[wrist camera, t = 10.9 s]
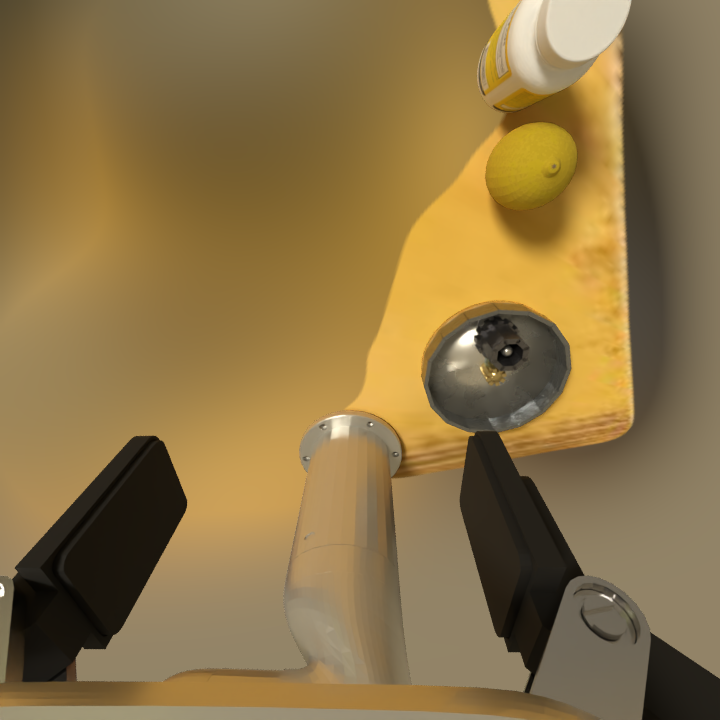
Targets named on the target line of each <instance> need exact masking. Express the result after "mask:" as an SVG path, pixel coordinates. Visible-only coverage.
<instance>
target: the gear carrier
mask: <svg viewBox="0 0 720 720" xmlns="http://www.w3.org/2000/svg"><path fill="white" fill-rule="evenodd" d="M494 317H500V318H501V319H502V320H504V318H507V319H509V320H510V321H511V322H512V323H513V324H514V325H515V326H516V327H517V328H518V329H519V331H520V332H519V333H518V335H519V336H520V337H521V339H522V340H523V341H524V342H525V343H526V344H527V345H528V346H529V347H530V349H529V355H528V361H527V362H525V363H524V364H523V365H522V366H520V367H519V368H518V369H517V370H516V371H500V370H498V369H497V368H496V367H495V366H494V365H493V364H492V363H491V362H490V361H489V359H487V358H485V357H484V356H483V355H482V353H481V354H480V353H479V351H478V349H477V348H476V346H475V344H476V343H475V341H474V340H473V339H474V335H477V334H478V332H477V331H476V329H477V327H478V326H481V327H482V326H483V325H485V324H484V322H483V321H485V320H487V319H489V320H494ZM499 351H500V352H501V354H502V355H504V356H510V355H511V354H512V353H513V349H512V347H511V346H510V345H509V344H506V345H505V346H504V347H503V348H502V349H500V350H499ZM421 370H422V374H421V377H422V381H423V384H424V388H425V391H426V394H427V397H428V400H429V403H430V406H431V408H432V409H433V410H434V411H435V412H436V413H437V414H438V415H439V416H440V417H441V418H442V419H443V420H444V421H445V422H446V423H447V424H450V425H452V426H455V427H457V428H460V429H462V430H465V431H467V432H476V431H496V432H501V431H505V430H509V429H513V428H517V427H521V426H522V425H524V424H526V423H527V422H529V421H531V420H533V419H534V418H536V417H538V416H539V415H541V414H543V412H545V411H546V410H547V409H548V408H549V407H550V406H551V404H552V403H553V402H554V401H555V400H556V399H557V398H558V397H559V396H560V395H561V393H562V392H563V389H564V386H565V384H566V381H567V379H568V376H569V374H570V371H571V359H570V347H569V343H568V342H567V340H566V339H565V338H564V336H563V335H562V333H561V332H560V330H559V329H558V328H557V326H556V325H555V324H554V323H553V322H552V321H551V320H549V319H548V318H547V317H545V316H544V315H542V314H540V313H538V312H536V311H535V310H533V309H532V308H530V307H528V306H525V305H523V304H519V303H515V302H510V301H490V302H483V303H479V304H476V305H473V306H470V307H468V308H465V309H463V310H461V311H459V312H457V313H456V314H454V315H453V316H451V317H450V318H449V319H447V320H446V321H445V322H444V323H443V324H442V325H441V326H440V327H439V328H438V329H437V330H436V331H435V333H434V334H433V335H432V337H431V338H430V340H429V342H428V344H427V346H426V348H425V351H424V354H423V358H422V366H421Z"/></svg>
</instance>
